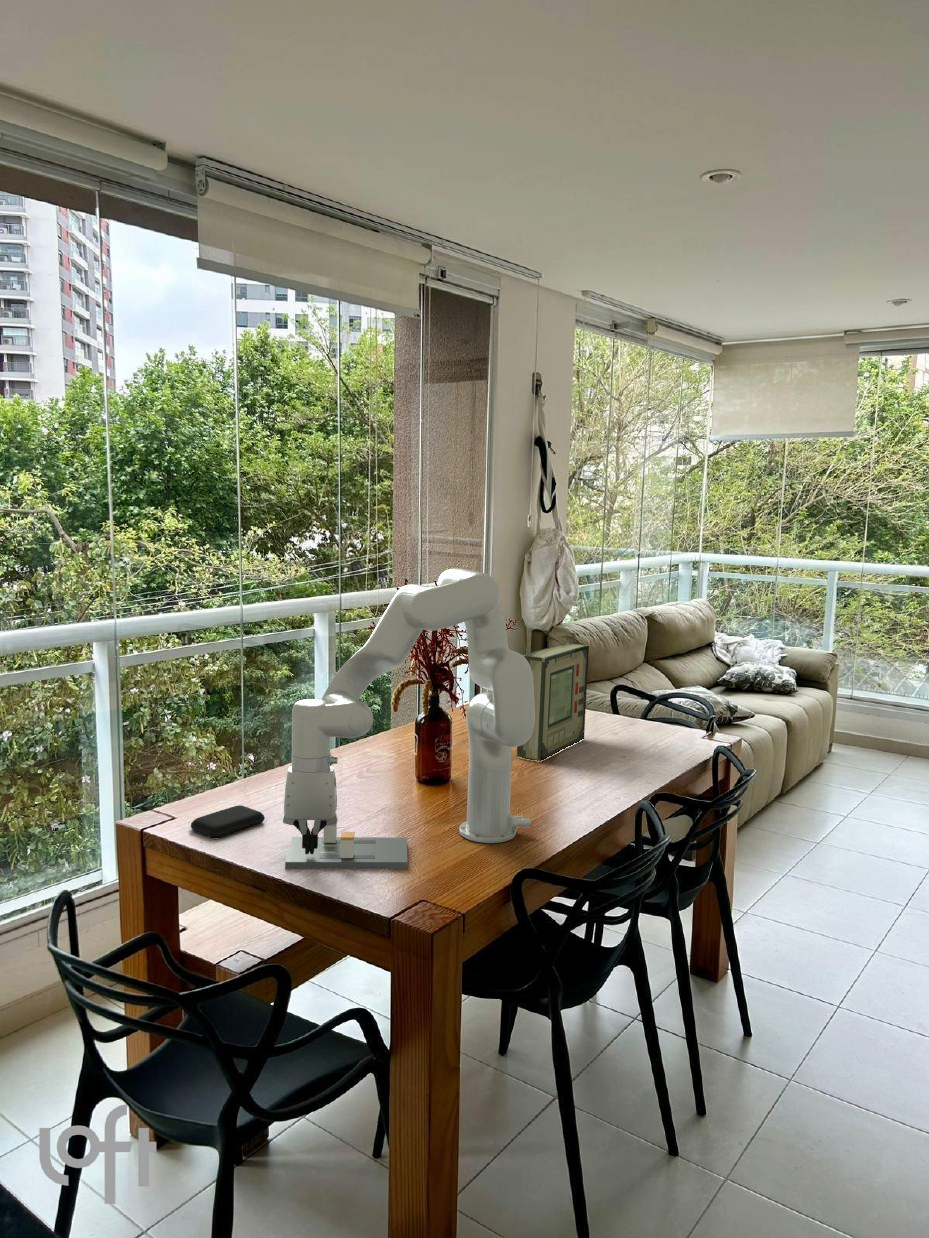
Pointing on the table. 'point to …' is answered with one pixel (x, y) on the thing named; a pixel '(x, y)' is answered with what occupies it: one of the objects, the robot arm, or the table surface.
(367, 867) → the grey slotted panel
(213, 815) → the carrying case or bag
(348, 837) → the block
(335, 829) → the breaker
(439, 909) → the table surface
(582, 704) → the control panel
